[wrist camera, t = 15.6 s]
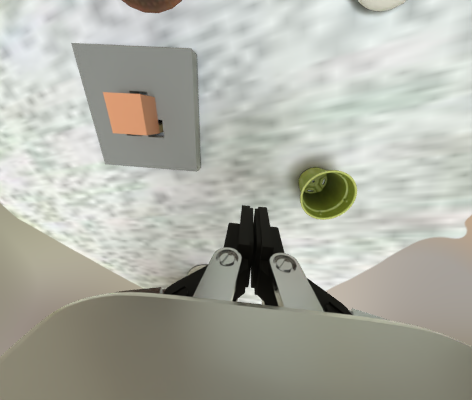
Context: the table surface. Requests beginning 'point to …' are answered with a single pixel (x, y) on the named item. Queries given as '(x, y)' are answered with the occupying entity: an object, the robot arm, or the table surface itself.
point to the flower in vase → (381, 4)
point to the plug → (132, 113)
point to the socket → (155, 85)
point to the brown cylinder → (152, 5)
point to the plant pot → (326, 192)
